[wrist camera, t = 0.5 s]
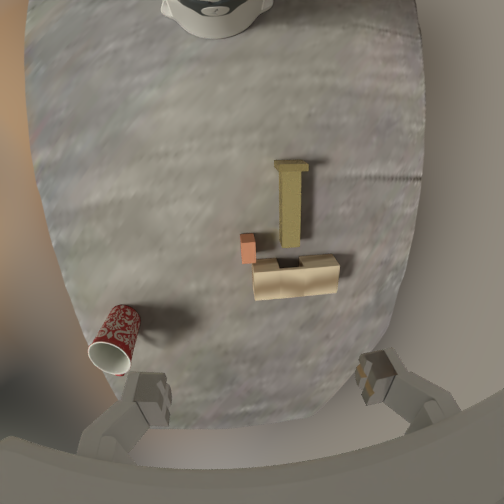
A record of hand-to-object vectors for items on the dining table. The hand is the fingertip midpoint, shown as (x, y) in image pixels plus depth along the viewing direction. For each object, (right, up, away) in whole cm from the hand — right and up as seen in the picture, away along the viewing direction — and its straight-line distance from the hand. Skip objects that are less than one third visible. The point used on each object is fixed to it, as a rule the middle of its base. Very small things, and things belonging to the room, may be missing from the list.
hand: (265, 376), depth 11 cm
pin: (+6, +14, +42) cm, 44 cm away
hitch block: (+7, +1, +47) cm, 48 cm away
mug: (-29, -11, +50) cm, 59 cm away
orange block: (-1, +7, +44) cm, 45 cm away
